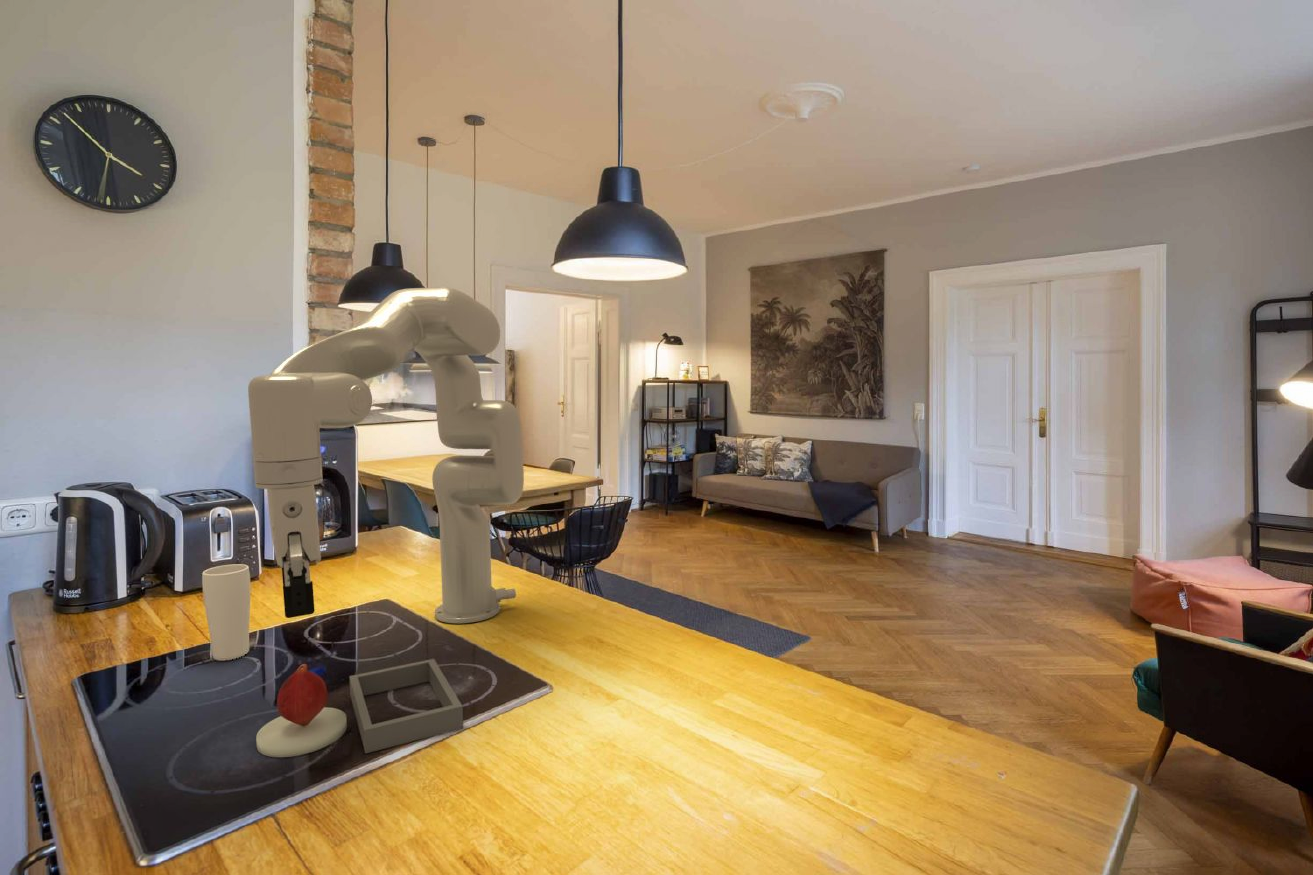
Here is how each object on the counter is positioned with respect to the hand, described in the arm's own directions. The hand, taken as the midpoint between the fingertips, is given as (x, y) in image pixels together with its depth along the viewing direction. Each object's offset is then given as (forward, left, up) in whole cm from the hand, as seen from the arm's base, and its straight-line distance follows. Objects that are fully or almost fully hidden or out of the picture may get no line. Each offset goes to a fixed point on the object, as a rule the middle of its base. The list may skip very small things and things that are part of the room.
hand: (298, 603), depth 86 cm
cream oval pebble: (0, 0, -17) cm, 17 cm away
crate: (-12, 0, -17) cm, 21 cm away
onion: (0, 0, -16) cm, 16 cm away
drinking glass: (+10, -36, -18) cm, 41 cm away
